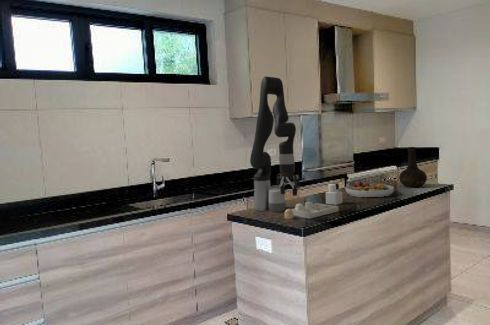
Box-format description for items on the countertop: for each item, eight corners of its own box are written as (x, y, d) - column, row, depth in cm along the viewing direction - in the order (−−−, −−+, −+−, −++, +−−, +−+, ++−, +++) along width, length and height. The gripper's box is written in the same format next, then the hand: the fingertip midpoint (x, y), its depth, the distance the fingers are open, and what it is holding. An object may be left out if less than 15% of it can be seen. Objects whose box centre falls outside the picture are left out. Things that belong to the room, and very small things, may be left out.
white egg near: (293, 214, 203) (293, 203, 203) (299, 212, 206) (299, 202, 206) (299, 215, 200) (299, 204, 199) (305, 213, 202) (305, 203, 202)
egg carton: (288, 215, 204) (288, 209, 204) (317, 208, 217) (317, 203, 217) (309, 220, 192) (309, 213, 192) (338, 212, 205) (338, 206, 205)
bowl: (404, 195, 244) (404, 183, 243) (365, 200, 233) (365, 188, 232) (372, 189, 272) (372, 178, 271) (336, 194, 261) (336, 182, 260)
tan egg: (282, 219, 196) (282, 208, 195) (289, 218, 198) (288, 207, 198) (288, 221, 192) (288, 210, 192) (295, 219, 195) (294, 208, 194)
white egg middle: (303, 211, 208) (302, 201, 207) (308, 210, 210) (308, 200, 210) (309, 212, 204) (308, 202, 204) (314, 211, 207) (314, 201, 206)
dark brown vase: (430, 185, 273) (429, 146, 271) (422, 189, 260) (421, 147, 257) (404, 184, 285) (403, 146, 282) (395, 187, 272) (394, 148, 269)
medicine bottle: (332, 201, 234) (331, 182, 233) (342, 203, 229) (342, 183, 228) (325, 203, 229) (325, 183, 228) (336, 205, 224) (335, 184, 223)
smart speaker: (265, 212, 214) (264, 187, 213) (276, 209, 221) (275, 185, 220) (278, 214, 208) (277, 188, 206) (289, 211, 214) (288, 186, 213)
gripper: (302, 162, 189) (304, 195, 191) (282, 161, 201) (284, 192, 202) (291, 163, 185) (293, 197, 186) (271, 163, 196) (273, 194, 197)
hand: (288, 194), depth 194 cm, fingers open, 8 cm apart
